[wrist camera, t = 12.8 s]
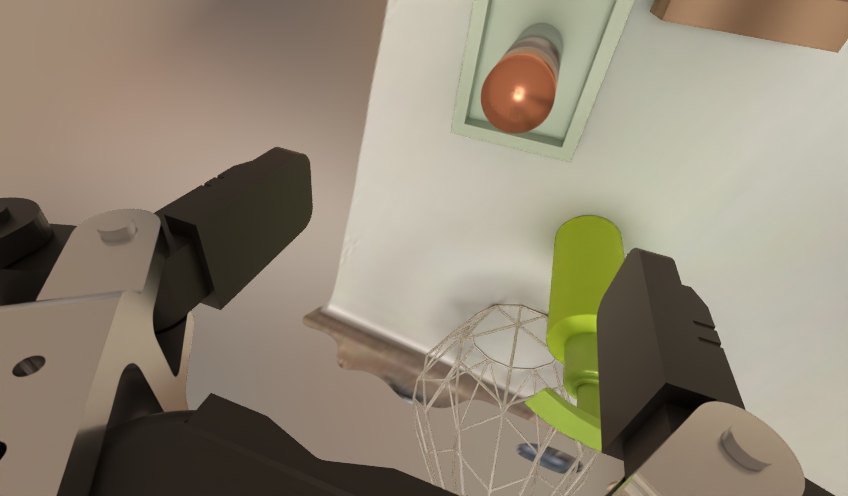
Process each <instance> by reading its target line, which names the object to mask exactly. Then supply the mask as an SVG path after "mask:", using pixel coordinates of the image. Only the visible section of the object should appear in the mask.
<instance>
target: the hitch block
mask: <svg viewBox="0 0 848 496" xmlns="http://www.w3.org/2000/svg"><path fill="white" fill-rule="evenodd" d="M650 12H651V13H653V14H654V15H655V16H657V17H658V18H660V19H661V20H663V21H669V22H674V23H680V24H685V25H690V26H696V27H701V28H707V29H712V30H718V31H723V32H728V33H734V34H739V35H745V36H750V37H756V38H761V39H767V40H772V41H777V42H783V43H788V44H794V45H799V46H805V47H810V48H816V49H821V50H826V51H832V52H837V53H838V52H839V50H840V49H841V47H842V46H843V45H844V43H845V42H846V41H847V39H848V0H655V1H654V3H653V5H652V8H651V10H650Z"/></svg>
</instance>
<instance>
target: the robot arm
mask: <svg viewBox="0 0 848 496" xmlns="http://www.w3.org/2000/svg"><path fill="white" fill-rule="evenodd" d="M312 207H313V206H312V188H311V170H310V161H309V159H308V157H307V156H306V155H305V154H302V153H298V152H295V151H291V150H287V149H284V148H280V147H275V148H273V149H271V150H269V151H268V152H266V153H264V154H263V155H261V156H260V157H258V158H256V159H255V160H253V161H250V162H246V163H243V164H239V165H236V166H233V167H231V168H230V169H228V170H226V171H225V172H223V173H221V174H220V175H218V177H217V178H213V179H211V180H209V181H207V182H206V183H205V185H204V186H202V185H201V186H199V187H197V188H196V189H194V190H192V191H190V192H189V193H187V194H185V195H184V196H182V197H180V198H179V199H177V200H175V201H173V202H172V203H170V204H168V205H167V206H165V207H163V208H162V209H160V210H158V211H156V212H155V213H152V212H149V211H146V210H141V209H120V210H114V211H109V212H105V213H102V214H99V215H96V216H94V217H91V218H89V219H87V220H86V221H84V222H83V223H81V224H79V225H78V226H72V225H59V224H49V223H48V221H47V219H46V218H45V216H44V214H43V212H42V211H41V209H40V207H39V205H38V204H37V203H35V202H34V201H31V200H29V199H24V198H0V496H459V495H457V494H455V493H452V492H450V491H447V490H445V489H442V488H440V487H438V486H435V485H433V484H430V483H428V482H425V481H423V480H421V479H418V478H415V477H413V476H411V475H408V474H406V473H404V472H401V471H399V470H396V469H393V468H385V467H375V466H367V465H358V464H350V463H340V462H332V461H325V460H321V459H319V458H316V457H315V456H314V455H312V454H311V453H310V452H309V451H308V450H307V449H305V448H304V447H303V446H302V445H301V444H299V443H298V442H297V441H296V440H295V439H294V438H292V437H291V436H290V435H289V434H288V433H286V432H285V431H284V430H283V429H282V428H280V427H279V426H278V425H277V424H276V423H274V422H273V421H272V420H271V419H270V418H269V417H267V416H265V415H263V414H260V413H258V412H256V411H253V410H251V409H248V408H246V407H244V406H241V405H239V404H236V403H234V402H231V401H229V400H227V399H224V398H222V397H219V396H217V395H215V394H212V393H211V394H210V395H209V396H208V397H207V398H206V399H205V401H204V402H203V403H202V404H201V405H200V406H199V408H198V409H197V410H188V404H187V398H186V382H187V374H188V366H189V358H190V350H191V341H192V334H193V326H194V315H193V311H192V309H193V308H194V307H195V306H197V305H198V304H199V303H203V304H205V305H208V306H211V307H214V308H216V309H219V310H221V309H222V308H223V307H224V306H225V305H226V304H227V303H229V301H231V299H232V298H234V297H235V296H236V295H237V294H238V293H239V292H240V291H241V290H242V289H243V288H244V287H245V286H246V285H247V284H248V283H249V282H250V281H251V280H252V279H253V278H254V277H255V276H256V275H257V274H259V273H260V272H261V271H262V270H263V269H264V268H265V267H266V266H267V265H268V264H269V263H270V262H271V261H272V260H273V259H274V258H275V257H276V256H277V255H278V254H279V253H280V252H281V251H282V250H283V249H284V248H285V247H286V246H287V245H289V243H291V242H292V241H293V240H294V239H295V238H296V237H297V236H298V235H299V234H300V233H301V232H302V231H303V230H304V229H305V228H306V226H307V225H308V223H309V221H310V218H311V215H312V209H313V208H312ZM596 327H597V351H598V374H599V398H600V421H601V445H602V453H604V454H607V455H609V456H612V457H615V458H617V459H620V460H623V461H624V468H625V476H624V477H623V478H622V479H620V480H619V481H618V482H617V483H616V484H615V485H614V486H613V487H612V488H611V489H610V491H609V492H608V493H607V494H606V495H605V496H835V495H833V494H831V493H830V492H828V491H826V490H825V489H823V488H821V487H820V486H818V485H816V484H815V483H813V482H811V481H810V480H808V479H807V478H805V477H804V474H803V470H802V468H801V465H800V463H799V461H798V460H797V458H796V456H795V454H794V453H793V452H792V450H791V449H790V447H789V446H788V445H787V444H786V443H785V441H784V440H783V439H782V438H781V437H780V436H779V435H778V434H777V433H776V432H775V431H774V430H773V429H772V428H771V427H769V426H768V425H767V424H766V423H765V422H763V421H762V420H760V419H759V418H758V417H756V416H754V415H753V414H751V413H749V412H748V411H746V410H745V407H744V404H743V402H742V399H741V396H740V393H739V391H738V388H737V385H736V382H735V380H734V377H733V374H732V372H731V369H730V366H729V363H728V361H727V358H726V355H725V353H724V350H723V348H721V347H720V345H721V342H720V339H719V336H718V333H717V331H715V330H714V328H715V325H714V323H713V320H712V317H711V314H710V312H709V309H708V307H707V306H706V304H705V303H704V302H703V301H702V300H701V298H700V297H699V296H698V295H697V294H696V292H695V291H694V290H693V289H692V288H691V287H688V286H685V285H682V284H681V281H680V277H679V274H678V271H677V268H676V265H675V262H674V260H673V259H672V258H670V257H667V256H663V255H660V254H656V253H653V252H649V251H645V250H642V249H638V248H634V249H633V250H631V251H630V253H629V254H628V255H627V257H626V259H625V260H624V262H623V264H622V265H621V267H620V269H619V270H618V272H617V274H616V276H615V277H614V279H613V281H612V282H611V284H610V286H609V287H608V289H607V291H606V292H605V294H604V296H603V298H602V300H601V302H600V305H599V308H598V312H597V319H596Z"/></svg>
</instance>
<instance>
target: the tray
mask: <svg viewBox="0 0 848 496" xmlns="http://www.w3.org/2000/svg"><path fill="white" fill-rule="evenodd" d="M634 1H635V0H474V2H473V8H472V14H471V19H470V25H469V31H468V36H467V42H466V47H465V53H464V59H463V64H462V70H461V76H460V81H459V87H458V93H457V98H456V104H455V109H454V115H453V121H452V126H451V132H450V133H454V134H458V135H462V136H466V137H470V138H474V139H478V140H482V141H486V142H490V143H494V144H498V145H502V146H506V147H510V148H514V149H518V150H522V151H526V152H530V153H534V154H538V155H542V156H546V157H550V158H554V159H558V160H562V161H566V162H571V160H572V157H573V155H574V152H575V149H576V147H577V144H578V142H579V139H580V137H581V134H582V132H583V129H584V127H585V124H586V122H587V119H588V117H589V114H590V112H591V109H592V107H593V104H594V102H595V99H596V97H597V94H598V91H599V89H600V86H601V84H602V81H603V79H604V76H605V74H606V71H607V69H608V66H609V64H610V61H611V59H612V56H613V54H614V51H615V49H616V46H617V44H618V41H619V38H620V36H621V33H622V31H623V28H624V26H625V23H626V21H627V18H628V16H629V13H630V11H631V8H632V6H633V3H634ZM536 23H547V24H550V25H552V26H554V27H555V28H556V29H557V30H558V31H559V32H560V34H561V36H562V39H563V54H562V60H561V66H560V72H559V77H558V83H557V89H556V94H555V100H554V104H553V107H552V110H551V112H550V114H549V115H548V117H547V118H546V119H545V120H544V122H543V123H541V124H540V125H539V126H538V127H536V128H535V129H533V130H531V131H528V132H524V133H517V134H515V133H507V132H504V131H501V130H499V129H498V128H496V127H495V126H493V125H492V124H491V123H490V122H489V121H488V119H487V118H486V116H485V114H484V112H483V109H482V106H481V90H482V86H483V83H484V81H485V79H486V77H487V76H488V74H489V73H490V72H491V70H492V69H493V68H494V67H495V65H496V64H497V63H498V62H499V60H500V59H501V58H502V57H503V55H504V54H505V53H506V52H507V50H508V49H509V48H510V46H511V45H512V44H513V43H514V41H515V40H516V39H517V38H518V36H519V35H520V34H521V33H522V32H523V31H524V30H525V29H526V28H527V27H529V26H531V25H533V24H536Z"/></svg>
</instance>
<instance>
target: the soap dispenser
mask: <svg viewBox="0 0 848 496" xmlns="http://www.w3.org/2000/svg"><path fill="white" fill-rule="evenodd" d="M624 260H625V257H624V251H623V244H622V238H621V234H620V232H619V230H618V229H617V227H616V226H615V225H614V224H613V223H611V222H610V221H608V220H606V219H604V218H601V217H598V216H580V217H576V218H573V219H571V220H569V221H568V222H566V223H565V224H563V225H562V226H561V228H560V229H559V230H558V232H557V234H556V237H555V245H554V257H553V268H552V280H551V292H550V303H549V315H548V326H547V338H546V342H547V347H548V349H549V351H550V353H551V354H552V355H553V357H554V358H555V359H557V360H558V361H559V362H560V363H562V364H563V365H564V375H563V384H564V388H565V390H566V391H567V393H568V394H569V395H570V396H572V397H573V398H575V399H577V407H576V406H574V405H573V404H571V403H570V402H568V401H567V400H565V399H564V398H563V397H561V396H560V395H559V394H557V393H556V392H555V391H554V390H552V389H551V388H545V389H543V390H541V391H540V392H538V393H537V394H535V395H534V396H532V397H531V398H530V399H528V400H527V401H526V402H525V404H526V405H527V406H528V407H529V408H530V409H531V410H533V411H534V412H535V413H536V414H537V415H538V416H540V417H541V418H542V419H543V420H545V421H546V422H547V423H548V424H550V425H551V426H553V427H554V428H556V429H557V430H559V431H560V432H562V433H564V434H565V435H567V436H569V437H571V438H573V439H575V440H576V441H578V442H580V443H583V444H585V445H587V446H589V447H591V448H593V449H595V450H597V451H599V452H602V445H601V421H600V398H599V374H598V351H597V327H596V319H597V312H598V308H599V305H600V302H601V300H602V298H603V296H604V294H605V292H606V291H607V289H608V287H609V286H610V284H611V282H612V281H613V279H614V277H615V276H616V274H617V272H618V270H619V269H620V267H621V265H622V264H623V262H624Z"/></svg>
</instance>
